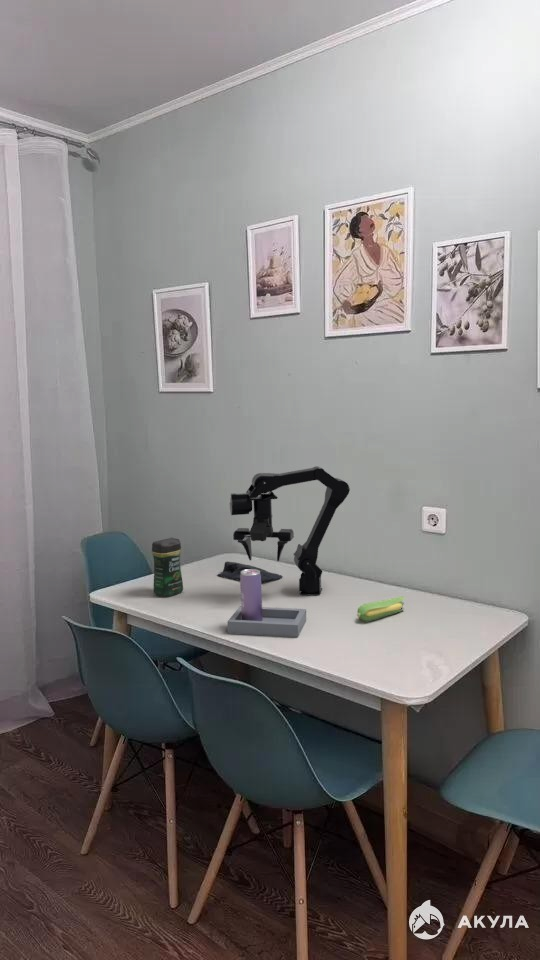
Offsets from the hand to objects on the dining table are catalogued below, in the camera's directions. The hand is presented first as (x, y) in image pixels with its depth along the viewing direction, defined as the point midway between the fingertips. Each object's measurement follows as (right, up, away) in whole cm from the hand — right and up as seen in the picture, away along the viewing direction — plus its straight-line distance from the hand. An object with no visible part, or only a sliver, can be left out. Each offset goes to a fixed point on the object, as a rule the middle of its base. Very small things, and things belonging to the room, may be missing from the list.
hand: (264, 560), depth 224 cm
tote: (+1, -16, -25) cm, 30 cm away
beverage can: (-3, -15, -24) cm, 28 cm away
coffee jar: (-32, -12, +8) cm, 35 cm away
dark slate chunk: (-5, -9, +25) cm, 27 cm away
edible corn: (+36, -14, -19) cm, 43 cm away
